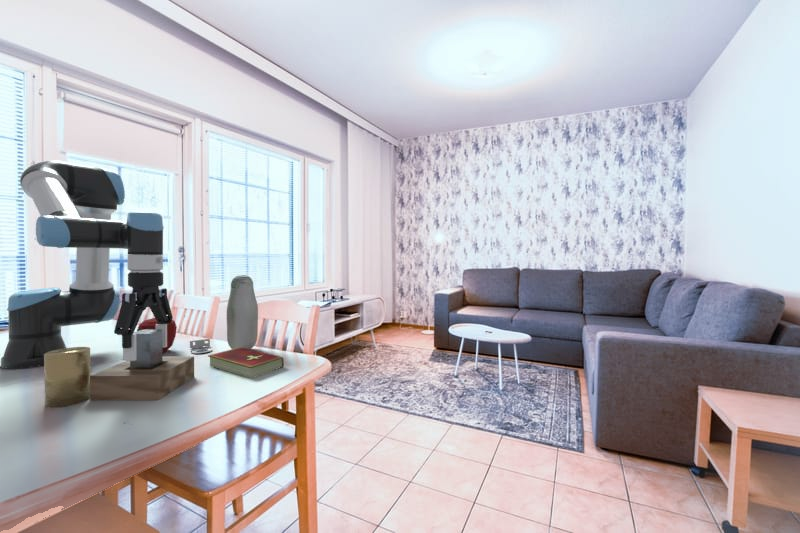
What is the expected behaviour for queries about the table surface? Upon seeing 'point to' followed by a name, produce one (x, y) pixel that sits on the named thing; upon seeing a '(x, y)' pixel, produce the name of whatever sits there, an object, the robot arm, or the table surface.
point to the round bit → (67, 376)
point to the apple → (150, 325)
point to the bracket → (200, 344)
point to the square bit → (148, 350)
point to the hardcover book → (246, 361)
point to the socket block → (141, 380)
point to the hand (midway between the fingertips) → (146, 353)
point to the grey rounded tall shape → (242, 314)
